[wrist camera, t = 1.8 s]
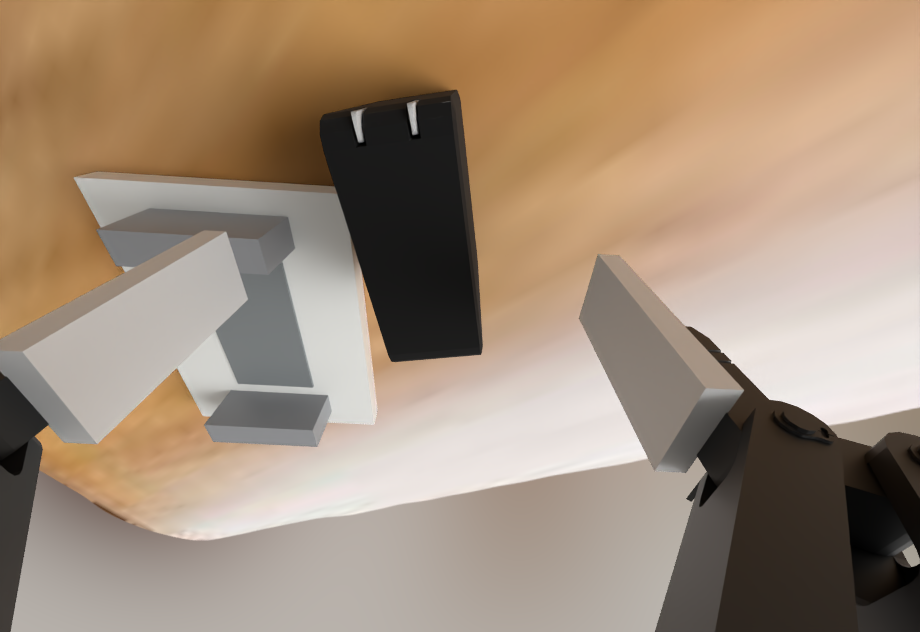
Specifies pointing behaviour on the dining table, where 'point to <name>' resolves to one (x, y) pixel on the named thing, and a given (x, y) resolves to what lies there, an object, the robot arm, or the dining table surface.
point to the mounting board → (258, 299)
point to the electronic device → (410, 220)
